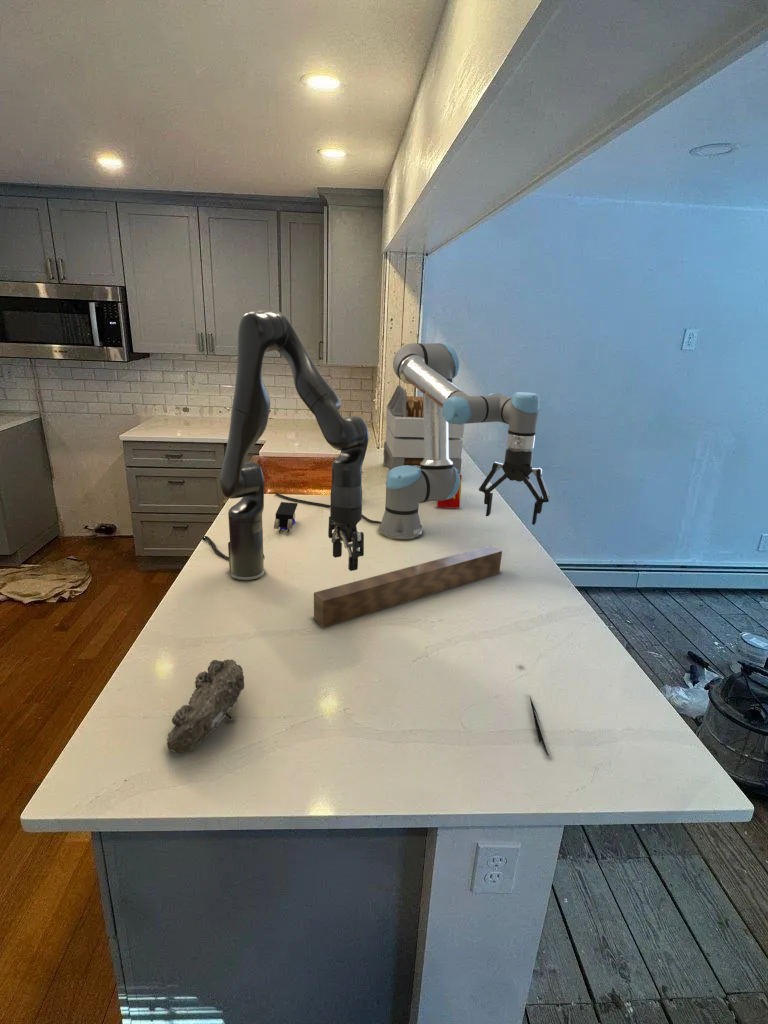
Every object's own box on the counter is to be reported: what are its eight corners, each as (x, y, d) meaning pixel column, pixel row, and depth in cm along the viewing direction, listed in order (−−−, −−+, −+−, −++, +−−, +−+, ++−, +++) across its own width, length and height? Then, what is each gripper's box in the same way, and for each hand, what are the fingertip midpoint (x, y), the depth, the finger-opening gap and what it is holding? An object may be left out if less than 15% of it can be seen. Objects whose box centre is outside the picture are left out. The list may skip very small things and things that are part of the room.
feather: (521, 671, 128) (526, 665, 127) (548, 760, 101) (555, 753, 101) (514, 667, 128) (520, 661, 127) (540, 755, 101) (547, 748, 101)
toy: (454, 466, 253) (465, 475, 223) (452, 495, 255) (463, 509, 226) (427, 465, 252) (435, 474, 223) (425, 494, 255) (433, 508, 226)
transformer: (382, 463, 289) (386, 382, 275) (445, 464, 293) (451, 384, 279) (390, 482, 257) (394, 392, 243) (460, 483, 261) (468, 394, 247)
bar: (487, 566, 177) (490, 545, 175) (499, 573, 173) (502, 551, 171) (313, 618, 144) (313, 592, 141) (323, 627, 140) (323, 600, 137)
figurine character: (293, 539, 194) (298, 519, 208) (292, 519, 191) (298, 500, 204) (273, 538, 194) (280, 518, 207) (272, 519, 191) (279, 500, 204)
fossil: (192, 660, 117) (244, 628, 112) (224, 691, 120) (276, 661, 115) (142, 746, 98) (202, 712, 93) (182, 779, 101) (242, 748, 96)
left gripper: (319, 494, 139) (318, 555, 144) (346, 512, 127) (344, 577, 133) (346, 490, 143) (345, 550, 148) (374, 508, 131) (372, 571, 137)
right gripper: (473, 445, 161) (466, 515, 169) (563, 457, 152) (551, 531, 159) (480, 440, 168) (473, 507, 175) (566, 452, 159) (555, 522, 166)
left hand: (344, 563), depth 140 cm, fingers open, 8 cm apart
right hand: (510, 519), depth 167 cm, fingers open, 13 cm apart
